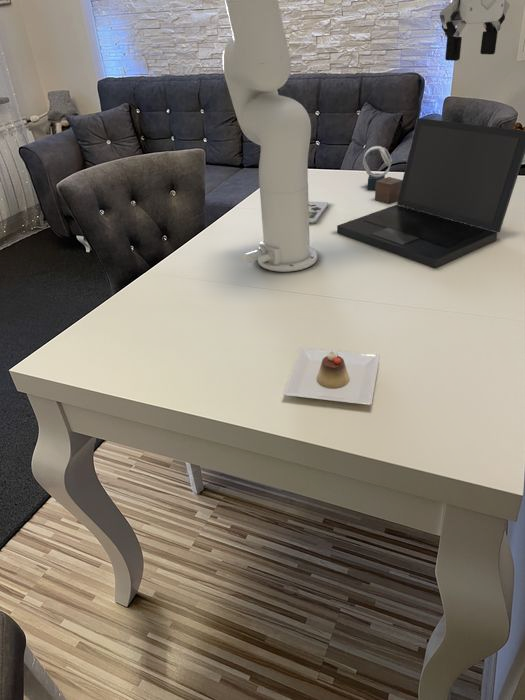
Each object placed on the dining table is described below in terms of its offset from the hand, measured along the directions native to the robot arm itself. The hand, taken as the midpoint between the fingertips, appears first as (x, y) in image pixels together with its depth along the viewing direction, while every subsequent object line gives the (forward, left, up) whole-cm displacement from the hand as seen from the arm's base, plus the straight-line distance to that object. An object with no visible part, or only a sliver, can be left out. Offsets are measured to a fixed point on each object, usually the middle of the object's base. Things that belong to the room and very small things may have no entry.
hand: (470, 57), depth 107 cm
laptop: (-13, 0, -34) cm, 36 cm away
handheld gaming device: (-19, +30, -34) cm, 49 cm away
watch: (+9, +32, -34) cm, 48 cm away
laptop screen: (0, 0, -23) cm, 23 cm away
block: (+3, +22, -34) cm, 41 cm away
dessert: (-63, -28, -34) cm, 77 cm away
